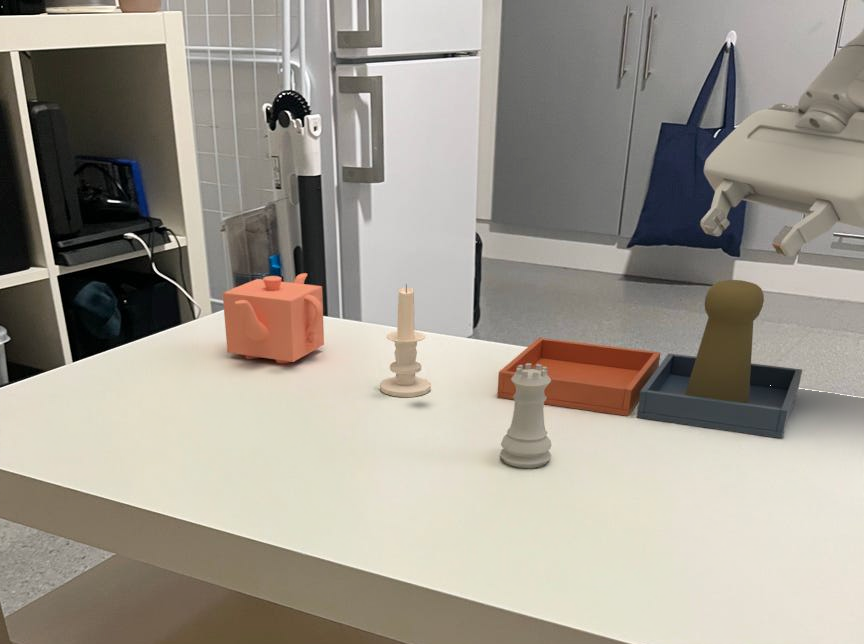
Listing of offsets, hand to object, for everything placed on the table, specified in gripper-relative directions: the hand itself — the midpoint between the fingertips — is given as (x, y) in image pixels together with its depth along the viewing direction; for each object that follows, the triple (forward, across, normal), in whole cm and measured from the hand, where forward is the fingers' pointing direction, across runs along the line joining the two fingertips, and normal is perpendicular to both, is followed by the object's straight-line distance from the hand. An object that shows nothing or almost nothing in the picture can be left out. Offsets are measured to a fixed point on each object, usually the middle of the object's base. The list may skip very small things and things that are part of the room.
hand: (742, 240), depth 91 cm
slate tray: (+10, 0, +11) cm, 15 cm away
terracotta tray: (+17, -10, +5) cm, 21 cm away
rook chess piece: (+28, +4, -6) cm, 29 cm away
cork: (+10, 0, +11) cm, 15 cm away
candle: (+29, -18, -6) cm, 34 cm away
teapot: (+34, -34, -12) cm, 50 cm away
